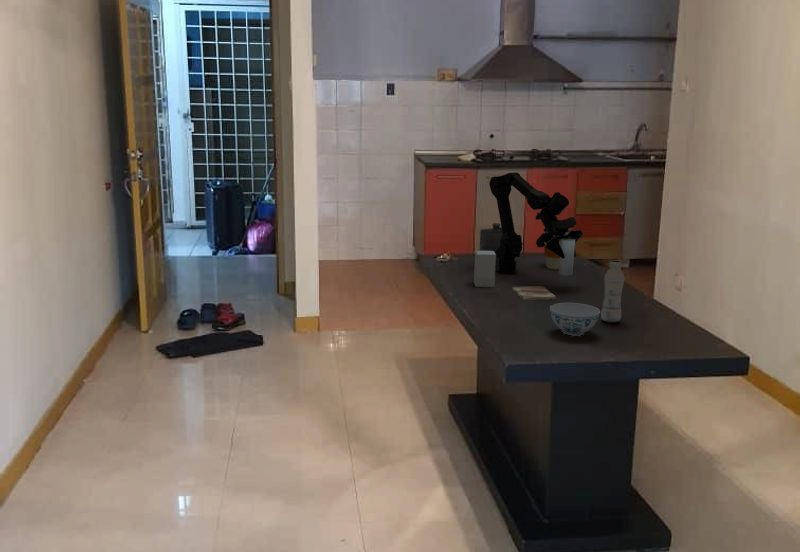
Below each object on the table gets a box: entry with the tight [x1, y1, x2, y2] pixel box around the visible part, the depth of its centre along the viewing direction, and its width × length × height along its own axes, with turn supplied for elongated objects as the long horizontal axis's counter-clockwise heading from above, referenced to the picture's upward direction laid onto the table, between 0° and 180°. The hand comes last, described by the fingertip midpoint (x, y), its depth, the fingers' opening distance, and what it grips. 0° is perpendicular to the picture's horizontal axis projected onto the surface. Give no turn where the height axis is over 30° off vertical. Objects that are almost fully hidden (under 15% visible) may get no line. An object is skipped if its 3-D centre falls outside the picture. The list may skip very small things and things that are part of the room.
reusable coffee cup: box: [543, 230, 571, 270], centre depth 327 cm, size 13×13×15 cm
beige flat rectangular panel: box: [511, 285, 557, 301], centre depth 286 cm, size 15×12×1 cm
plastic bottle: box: [600, 259, 626, 323], centre depth 252 cm, size 6×7×20 cm
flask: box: [478, 222, 502, 267], centre depth 327 cm, size 4×14×18 cm, turn 106°
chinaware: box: [549, 302, 601, 337], centre depth 241 cm, size 15×15×8 cm
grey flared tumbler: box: [558, 238, 576, 277], centre depth 288 cm, size 5×5×13 cm
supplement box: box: [473, 250, 496, 288], centre depth 297 cm, size 7×7×13 cm
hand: (569, 257), depth 287 cm, fingers closed on grey flared tumbler, 5 cm apart
